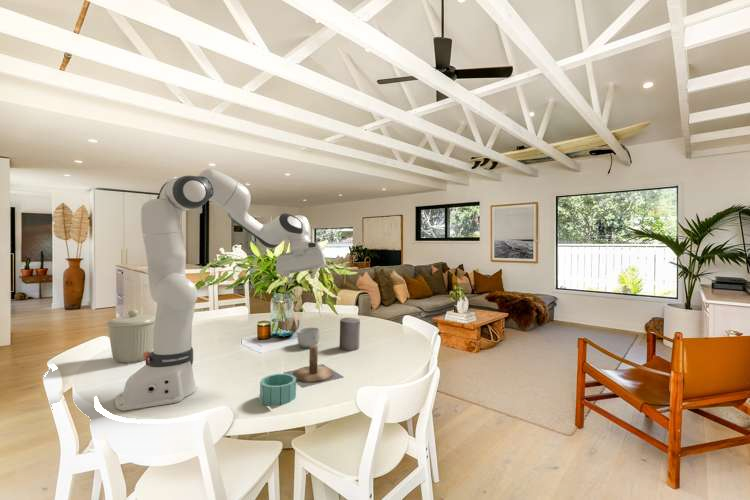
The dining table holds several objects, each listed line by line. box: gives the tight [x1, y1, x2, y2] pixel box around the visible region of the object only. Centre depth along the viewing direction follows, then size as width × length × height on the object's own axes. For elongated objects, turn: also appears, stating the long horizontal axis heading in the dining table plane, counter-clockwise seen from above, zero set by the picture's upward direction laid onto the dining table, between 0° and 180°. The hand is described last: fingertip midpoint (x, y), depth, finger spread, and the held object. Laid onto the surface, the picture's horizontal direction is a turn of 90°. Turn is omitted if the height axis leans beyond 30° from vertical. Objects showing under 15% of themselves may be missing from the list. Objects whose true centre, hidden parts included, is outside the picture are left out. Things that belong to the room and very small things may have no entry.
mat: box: [282, 363, 344, 389], centre depth 133 cm, size 17×17×1 cm
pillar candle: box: [339, 317, 361, 352], centre depth 170 cm, size 10×10×15 cm
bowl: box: [259, 373, 297, 407], centre depth 114 cm, size 11×11×6 cm
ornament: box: [279, 310, 300, 334], centre depth 188 cm, size 15×15×15 cm
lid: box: [293, 344, 334, 383], centre depth 133 cm, size 15×15×11 cm
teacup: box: [296, 326, 320, 348], centre depth 174 cm, size 14×11×8 cm
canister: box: [106, 309, 156, 364], centre depth 148 cm, size 18×18×21 cm
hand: (301, 280), depth 141 cm, fingers open, 8 cm apart
